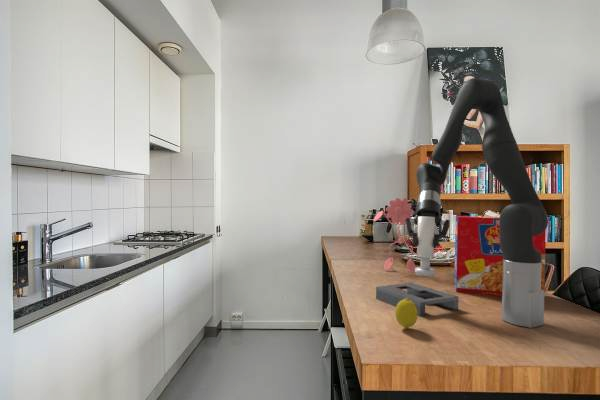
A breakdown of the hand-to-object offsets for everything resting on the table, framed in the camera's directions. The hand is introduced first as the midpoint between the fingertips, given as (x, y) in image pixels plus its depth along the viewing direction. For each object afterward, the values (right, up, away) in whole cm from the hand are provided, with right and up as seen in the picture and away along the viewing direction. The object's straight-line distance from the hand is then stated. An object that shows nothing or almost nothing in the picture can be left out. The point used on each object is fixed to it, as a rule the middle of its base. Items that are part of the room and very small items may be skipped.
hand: (425, 245), depth 111 cm
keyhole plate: (-1, -20, +5) cm, 20 cm away
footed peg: (+1, -9, +2) cm, 9 cm away
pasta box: (+34, -20, +21) cm, 44 cm away
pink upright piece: (+6, -20, +54) cm, 58 cm away
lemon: (-11, -20, -18) cm, 29 cm away
